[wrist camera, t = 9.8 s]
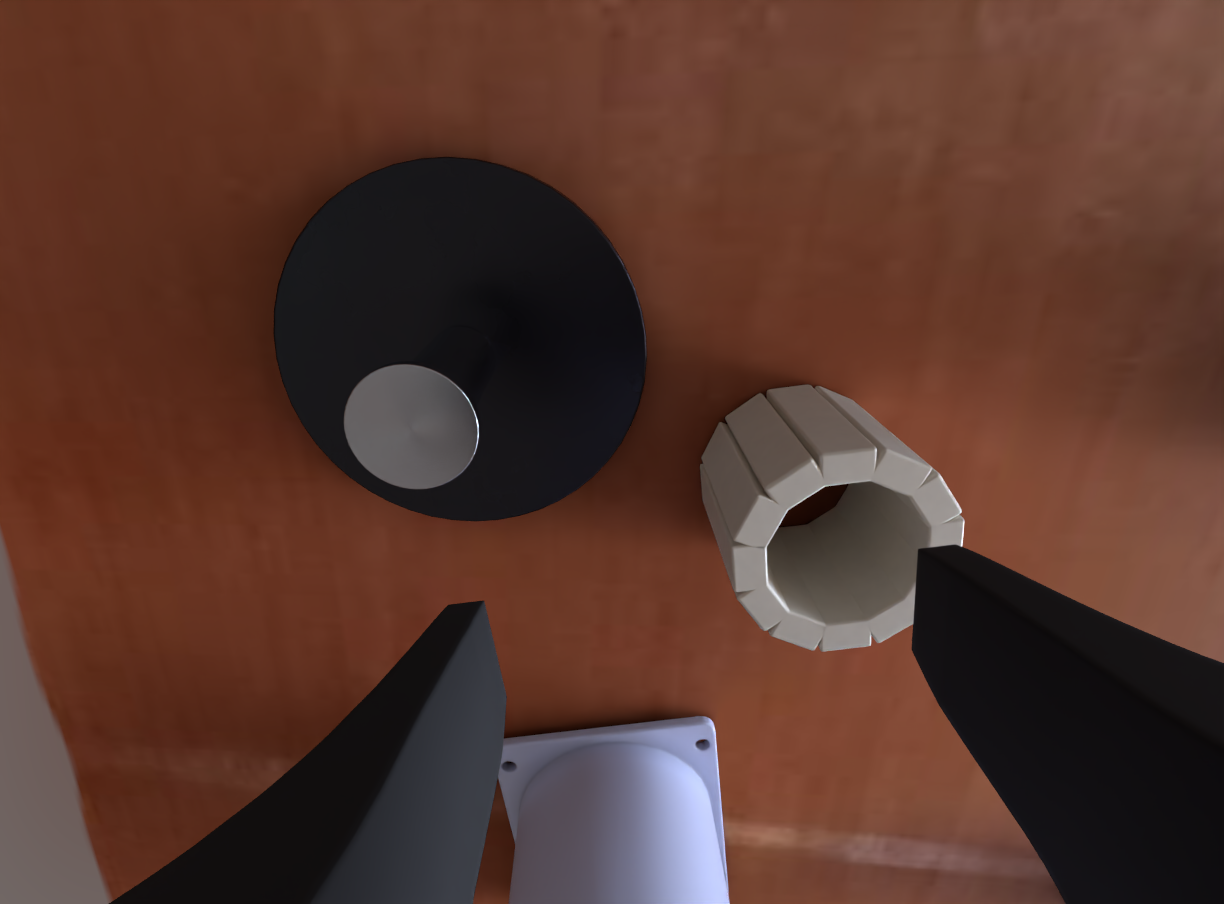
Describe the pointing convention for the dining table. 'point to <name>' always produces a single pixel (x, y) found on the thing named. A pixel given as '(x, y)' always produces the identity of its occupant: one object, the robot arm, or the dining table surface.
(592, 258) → the stand
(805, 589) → the cream faceted cylinder
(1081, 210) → the dining table surface
